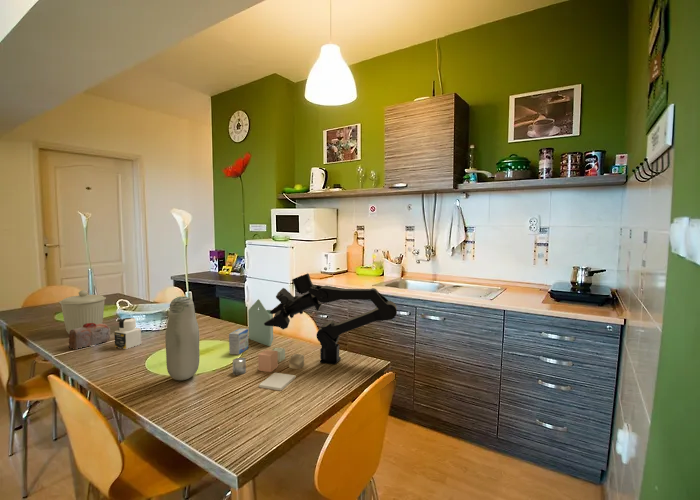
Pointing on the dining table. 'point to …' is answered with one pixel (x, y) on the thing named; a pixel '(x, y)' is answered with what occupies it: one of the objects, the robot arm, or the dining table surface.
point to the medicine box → (238, 341)
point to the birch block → (296, 361)
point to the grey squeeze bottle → (182, 339)
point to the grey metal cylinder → (239, 366)
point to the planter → (260, 324)
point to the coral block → (267, 360)
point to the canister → (82, 310)
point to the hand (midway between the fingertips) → (267, 318)
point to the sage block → (280, 353)
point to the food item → (88, 335)
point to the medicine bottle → (127, 334)
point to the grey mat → (277, 381)
